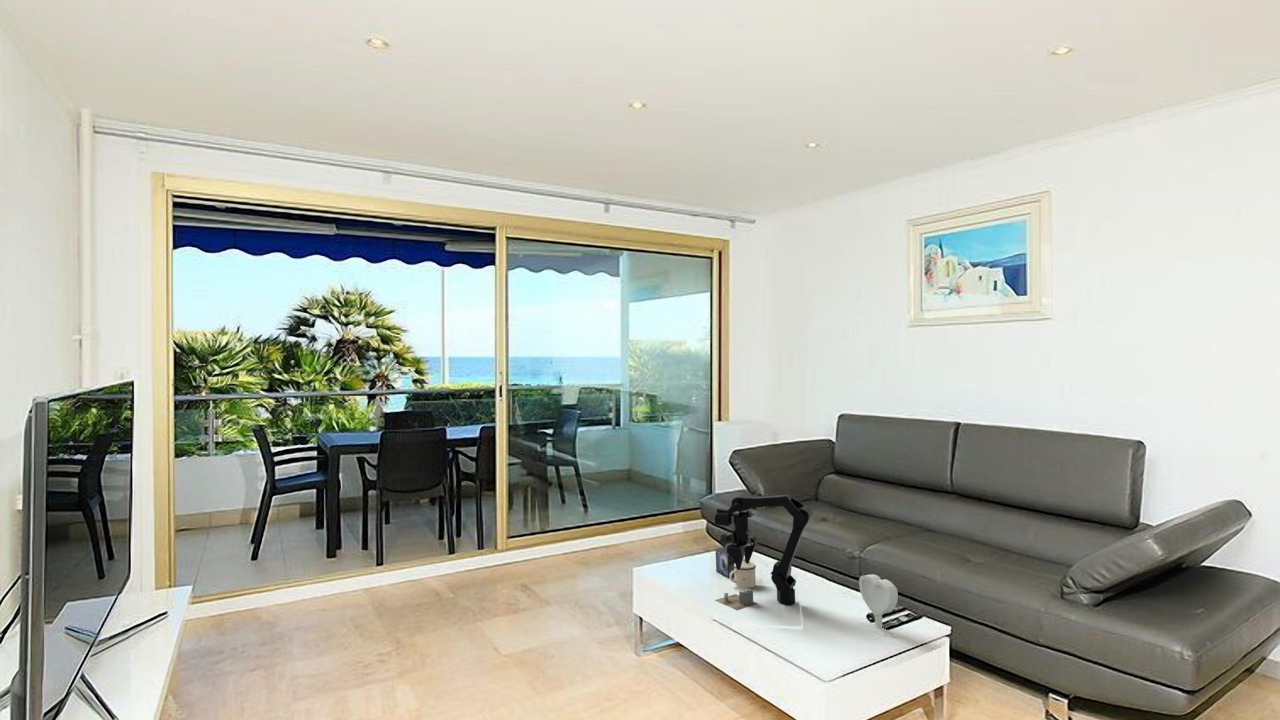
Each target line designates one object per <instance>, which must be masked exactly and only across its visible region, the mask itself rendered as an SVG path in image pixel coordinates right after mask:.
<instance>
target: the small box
mask: <svg viewBox="0 0 1280 720" xmlns="http://www.w3.org/2000/svg"><path fill="white" fill-rule="evenodd" d="M727 547H728V546H725V547H719V548H715V572H716V573H718V574H720V575H722V577H725V578H727V579H730V577H729V575H730V573H731V572H732V571H734V564H735V562H734V559H733V557H732V556H731V555H729V554H727V553H726V548H727ZM732 579H735V573H733V574H732Z"/></svg>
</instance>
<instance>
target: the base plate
mask: <svg viewBox="0 0 1280 720" xmlns="http://www.w3.org/2000/svg"><path fill="white" fill-rule="evenodd" d="M714 601H715V602H718V603H719V604H722V605H724V606H727V607H728V608H731V609H734V610H736V611H740V610H742V609H745V608H749V607H752V606H755V605H758V604H759V603H758V602H757V601H753V604H752V605H742V604H740V603H739V594H736V593H735V594H731V595H729V592H724V593H723V597H720V598H718V599H714Z"/></svg>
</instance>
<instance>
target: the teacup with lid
mask: <svg viewBox="0 0 1280 720" xmlns="http://www.w3.org/2000/svg"><path fill="white" fill-rule="evenodd" d="M756 567H757V565H756V564H755V563H754V562H752V561H749V563H746V562H745V557H744V558H743V561H742V565H741V568H740V570H737V568H736V565H735V564H734V571H732V572H731V573H730V575H729V577H730V578H729V579H730V581H731V582H732V583H734V586H736V587H738V588H740V589H742V588H750V589H752V588H753V587H755V586H757V585H756V584H757V583H756ZM733 573H735V577H734V578H732V574H733ZM733 579H734V580H733Z"/></svg>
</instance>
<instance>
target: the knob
mask: <svg viewBox="0 0 1280 720" xmlns="http://www.w3.org/2000/svg"><path fill="white" fill-rule="evenodd" d="M738 590H739V592H738V593H739V594H738V595H739V603H740V604H742V605H752V604H753V602H754V590H753V589H752V588H740V589H738Z"/></svg>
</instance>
